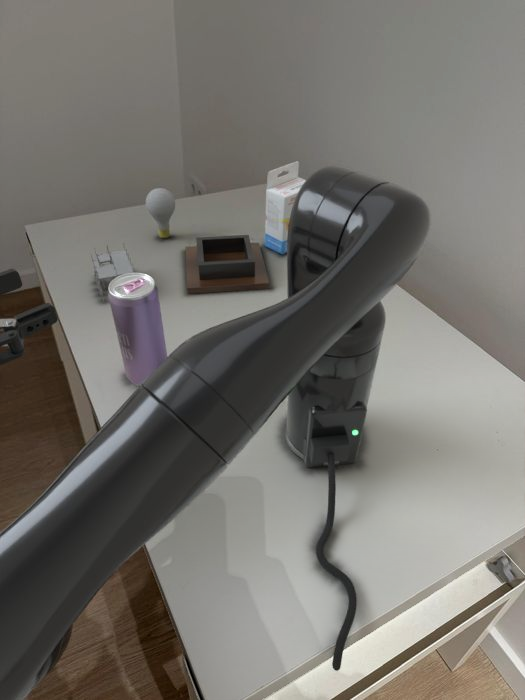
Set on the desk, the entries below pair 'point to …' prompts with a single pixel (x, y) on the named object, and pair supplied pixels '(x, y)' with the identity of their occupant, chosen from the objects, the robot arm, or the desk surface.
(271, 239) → the ink box
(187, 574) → the desk surface
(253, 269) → the base pad
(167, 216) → the light bulb
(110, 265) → the building frame
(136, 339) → the beverage can
